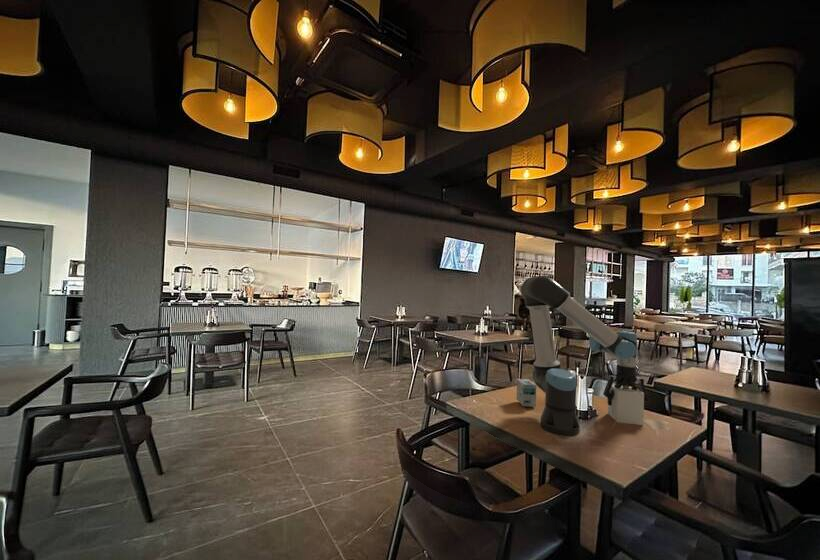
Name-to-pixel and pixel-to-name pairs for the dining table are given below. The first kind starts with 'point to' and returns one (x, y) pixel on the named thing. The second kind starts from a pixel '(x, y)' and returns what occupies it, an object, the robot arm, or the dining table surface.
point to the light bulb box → (526, 392)
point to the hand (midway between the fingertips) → (625, 413)
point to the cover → (627, 405)
